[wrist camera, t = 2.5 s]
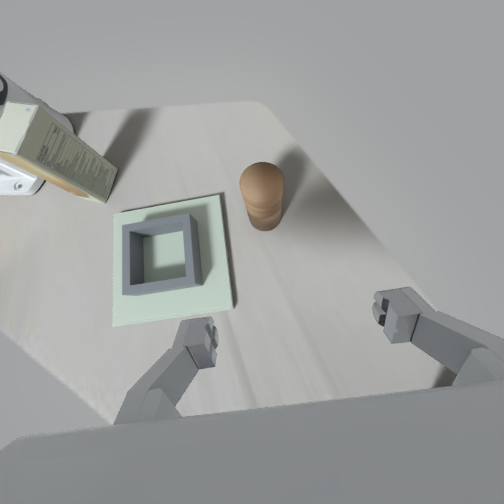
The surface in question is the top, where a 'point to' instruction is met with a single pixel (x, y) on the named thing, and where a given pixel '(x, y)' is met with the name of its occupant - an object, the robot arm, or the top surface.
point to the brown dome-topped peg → (263, 194)
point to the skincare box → (53, 152)
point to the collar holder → (170, 262)
